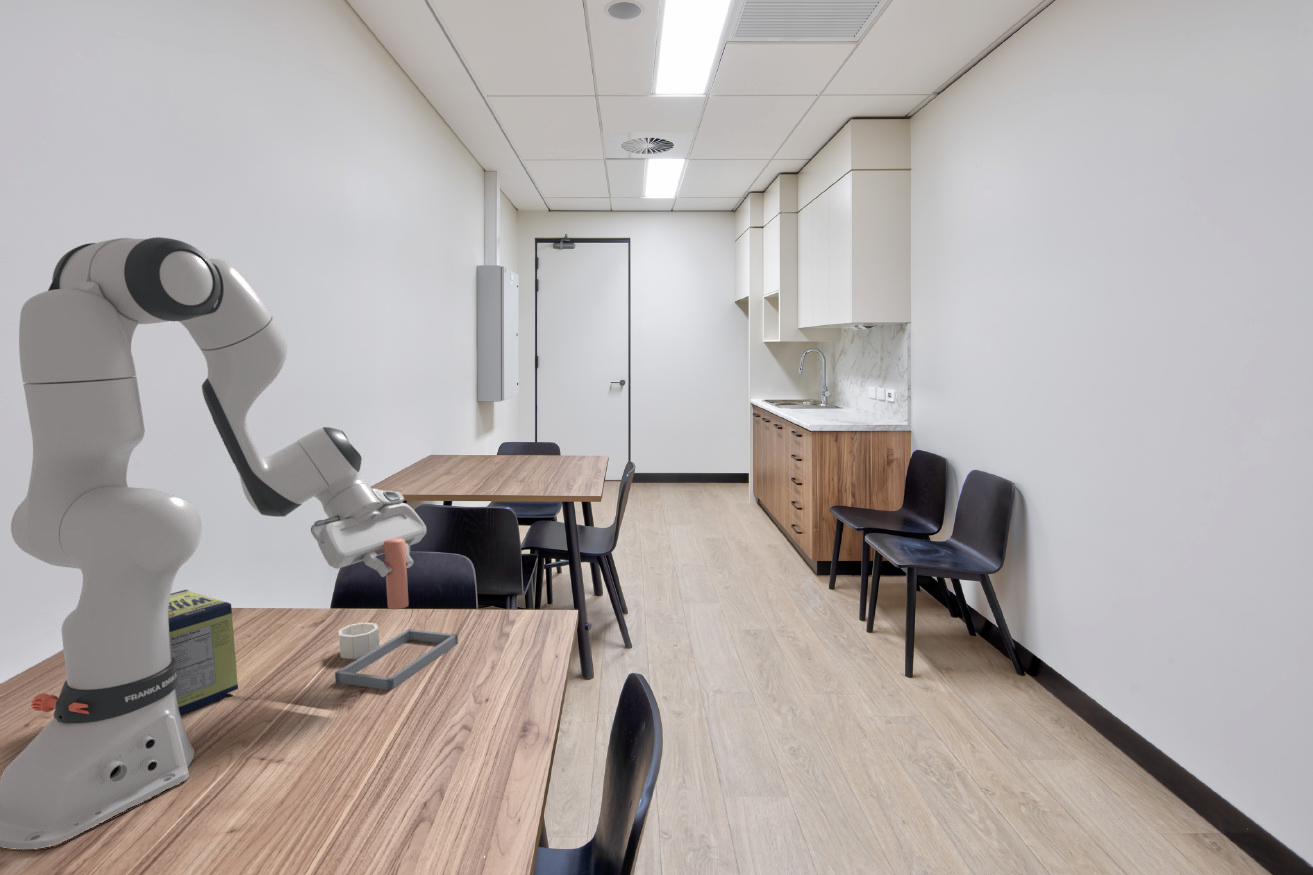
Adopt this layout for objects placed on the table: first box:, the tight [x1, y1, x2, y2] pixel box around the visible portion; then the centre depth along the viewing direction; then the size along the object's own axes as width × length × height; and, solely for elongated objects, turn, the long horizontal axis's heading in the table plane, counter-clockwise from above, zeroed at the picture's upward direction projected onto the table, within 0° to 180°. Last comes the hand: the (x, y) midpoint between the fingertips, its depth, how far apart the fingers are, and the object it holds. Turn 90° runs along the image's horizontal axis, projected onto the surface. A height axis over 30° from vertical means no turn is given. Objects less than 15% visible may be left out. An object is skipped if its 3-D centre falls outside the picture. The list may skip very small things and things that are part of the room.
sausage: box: [384, 538, 410, 610], centre depth 124 cm, size 4×4×12 cm
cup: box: [338, 622, 380, 660], centre depth 130 cm, size 7×7×5 cm
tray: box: [334, 628, 459, 691], centre depth 126 cm, size 20×11×2 cm, turn 164°
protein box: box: [168, 589, 239, 716], centre depth 115 cm, size 10×16×16 cm
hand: (398, 569), depth 124 cm, fingers closed on sausage, 3 cm apart
